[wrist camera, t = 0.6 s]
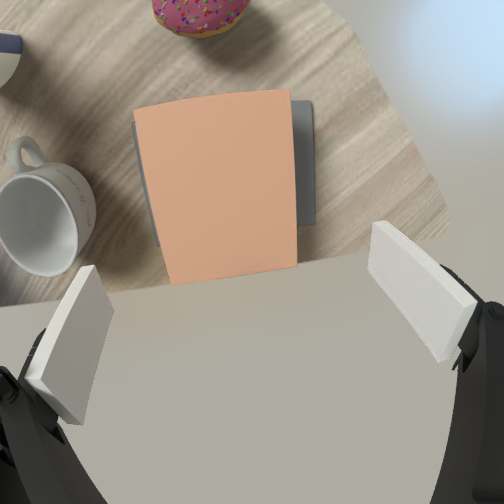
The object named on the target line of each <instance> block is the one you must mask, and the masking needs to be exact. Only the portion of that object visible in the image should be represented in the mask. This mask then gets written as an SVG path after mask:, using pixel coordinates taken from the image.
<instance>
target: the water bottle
mask: <svg viewBox="0 0 504 504" xmlns="http://www.w3.org/2000/svg"><path fill="white" fill-rule="evenodd" d="M21 52H22V42H21V38H20V36H19V35H18V34H17V33H16V32H14V31H7V30H0V87H2V86H3V85H4V84H5V83H6V82H7V81H8V80H9V79H10V78H11V76H12V75H13V73H14V72H15V70H16V68H17V66H18V63H19V60H20V57H21Z"/></svg>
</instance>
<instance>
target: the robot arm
mask: <svg viewBox="0 0 504 504" xmlns="http://www.w3.org/2000/svg"><path fill="white" fill-rule="evenodd" d="M367 271H368V272H369V273H370V274H371V276H372V277H373V278H374V279H375V280H376V282H377V283H378V284H379V285H380V287H381V288H382V289H383V290H384V291H385V293H386V294H387V295H388V296H389V298H390V299H391V300H392V301H393V303H394V304H395V305H396V307H397V308H398V309H399V310H400V312H401V313H402V314H403V315H404V317H405V318H406V319H407V321H408V322H409V323H410V325H411V326H412V327H413V329H414V330H415V331H416V333H417V334H418V335H419V337H420V338H421V340H422V341H423V342H424V344H425V345H426V346H427V348H428V349H429V351H430V352H431V353H432V355H433V356H434V358H435V359H436V360H437V362H438V363H439V362H441V361H443V360H445V359H448V358H450V357H452V355H453V353H454V351H455V350H456V348H457V346H459V348H460V349H461V350H462V351H461V353H460V355H459V356H458V358H457V360H456V362H455V364H454V365H453V368H452V370H455V368H456V366H457V365H458V370H457V371H458V375H457V376H458V377H457V386H456V394H455V403H454V409H453V415H452V422H451V427H450V432H449V437H448V443H447V446H446V451H445V455H444V459H443V463H442V467H441V470H440V474H439V477H438V480H437V484H436V487H435V490H434V493H433V496H432V499H431V502H430V504H504V306H503V305H501V304H499V303H497V302H492V301H490V302H487V303H485V302H484V301H483V300H482V299H481V298H480V297H479V296H478V295H477V294H476V293H475V292H474V291H473V290H472V289H471V288H470V287H469V286H468V285H467V284H464V281H462V280H461V279H460V278H458V276H457V275H456V274H455V273H454V272H453V271H452V270H450V269H449V268H447V267H445V266H443V265H441V264H440V265H439V264H438V263H436V262H435V261H434V260H433V259H432V258H431V257H430V256H428V255H427V254H426V253H425V252H424V251H423V250H422V249H420V248H419V247H418V246H417V245H416V244H414V243H413V242H412V241H411V240H410V239H408V238H407V237H406V236H405V235H404V234H402V233H401V232H400V231H399V230H397V229H396V228H395V227H394V226H392V225H391V224H390V223H389V222H387V221H386V220H384V221H377V222H373V226H372V236H371V245H370V254H369V263H368V269H367ZM113 313H114V310H113V307H112V305H111V303H110V300H109V298H108V296H107V294H106V291H105V289H104V287H103V284H102V282H101V279H100V277H99V274H98V272H97V269H96V267H95V265H89V266H84V267H81V268H80V270H79V272H78V273H77V275H76V276H75V278H74V280H73V282H72V283H71V285H70V287H69V288H68V290H67V292H66V294H65V295H64V297H63V299H62V301H61V303H60V305H59V306H58V308H57V310H56V312H55V314H54V316H53V317H52V319H51V321H50V323H49V325H48V327H47V329H44V330H43V331H42V332H41V333H40V334H39V335H38V337H37V338H36V340H35V342H34V344H33V346H32V347H33V348H32V349H31V351H30V353H29V356H28V357H27V359H26V361H25V364H24V366H23V368H22V370H21V373H20V375H19V377H18V380H16V379H15V378H14V376H13V375H12V374H11V373H10V371H9V370H8V369H7V368H6V367H4V366H0V504H107V502H106V501H105V499H104V498H103V497H102V495H101V494H100V492H99V491H98V490H97V488H96V487H95V485H94V484H93V482H92V481H91V479H90V477H89V476H88V474H87V473H86V471H85V469H84V468H83V466H82V464H81V463H80V461H79V459H78V458H77V456H76V454H75V452H74V451H73V449H72V447H71V445H70V443H69V442H68V439H67V437H66V436H65V434H64V432H63V430H62V428H61V426H60V425H59V424H58V423H57V420H58V416H60V417H61V418H62V419H63V420H64V421H65V422H66V423H67V424H74V425H83V424H84V419H85V414H86V409H87V404H88V400H89V396H90V392H91V388H92V384H93V380H94V376H95V372H96V369H97V365H98V361H99V358H100V354H101V351H102V348H103V344H104V341H105V338H106V334H107V331H108V328H109V325H110V322H111V319H112V315H113Z"/></svg>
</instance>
